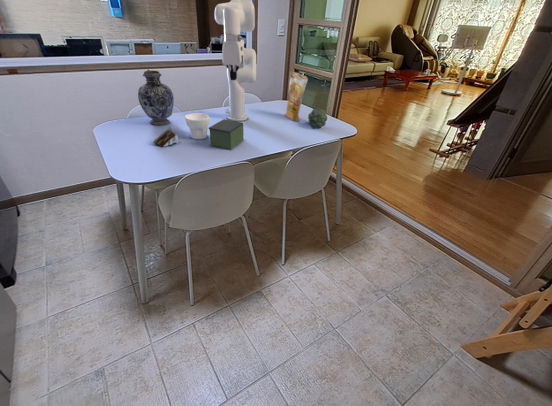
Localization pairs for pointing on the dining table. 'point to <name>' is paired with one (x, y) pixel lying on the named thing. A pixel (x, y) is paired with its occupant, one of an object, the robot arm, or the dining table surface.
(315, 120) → the vegetable
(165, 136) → the chocolate cake
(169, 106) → the decorative vase
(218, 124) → the bin lid
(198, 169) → the dining table surface
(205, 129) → the cup
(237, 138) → the bin
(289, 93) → the pancake mix bag
